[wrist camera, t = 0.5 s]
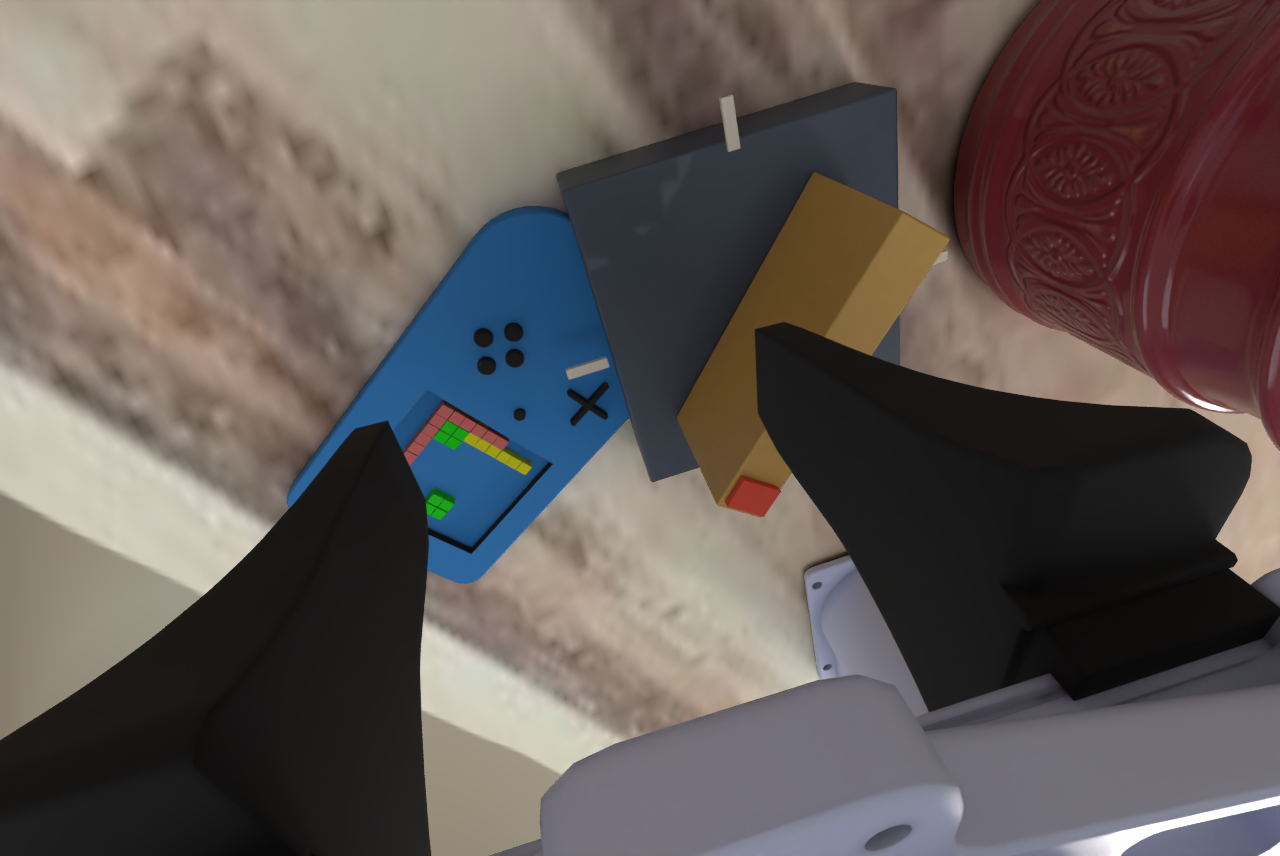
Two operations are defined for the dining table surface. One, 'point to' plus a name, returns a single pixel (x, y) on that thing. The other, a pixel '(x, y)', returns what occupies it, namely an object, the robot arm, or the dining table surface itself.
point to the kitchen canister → (1138, 189)
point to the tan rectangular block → (802, 324)
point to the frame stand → (710, 238)
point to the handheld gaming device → (493, 390)
